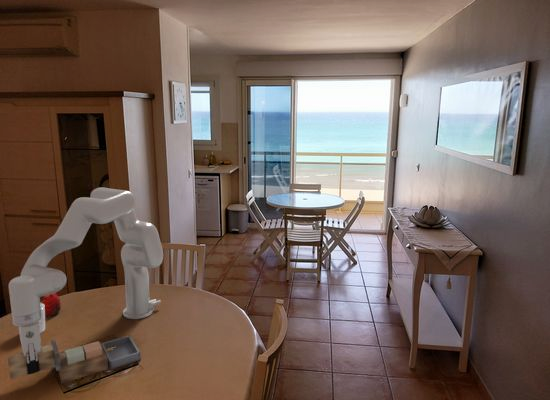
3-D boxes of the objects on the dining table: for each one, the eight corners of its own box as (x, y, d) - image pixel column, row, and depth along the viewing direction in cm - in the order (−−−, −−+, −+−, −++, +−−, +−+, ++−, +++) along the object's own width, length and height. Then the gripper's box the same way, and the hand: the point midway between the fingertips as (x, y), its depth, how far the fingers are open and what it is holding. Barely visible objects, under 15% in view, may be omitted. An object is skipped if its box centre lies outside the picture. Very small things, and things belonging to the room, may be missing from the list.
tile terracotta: (99, 347, 139) (98, 341, 138) (102, 354, 135) (101, 348, 134) (83, 352, 136) (82, 345, 135) (86, 359, 132) (85, 352, 131)
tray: (130, 342, 149) (129, 335, 149) (140, 360, 139) (140, 352, 138) (101, 350, 144) (101, 343, 143) (110, 369, 133) (110, 361, 133)
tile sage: (81, 352, 136) (81, 345, 135) (84, 359, 132) (84, 353, 131) (65, 357, 133) (64, 350, 132) (67, 364, 129) (67, 358, 128)
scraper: (56, 355, 133) (55, 339, 132) (60, 369, 126) (58, 352, 125) (9, 368, 126) (7, 351, 124) (10, 384, 118) (8, 366, 117)
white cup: (36, 338, 151) (33, 313, 148) (18, 335, 152) (15, 311, 150) (51, 327, 158) (49, 304, 156) (34, 324, 160) (32, 301, 157)
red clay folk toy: (54, 308, 173) (51, 276, 170) (65, 312, 170) (62, 279, 167) (37, 315, 167) (34, 282, 164) (48, 319, 164) (45, 285, 161)
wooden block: (100, 352, 143) (100, 342, 142) (108, 368, 134) (107, 358, 133) (56, 365, 135) (55, 355, 134) (61, 383, 126) (60, 372, 125)
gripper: (44, 324, 117) (49, 379, 121) (38, 302, 130) (44, 352, 134) (13, 331, 113) (20, 388, 117) (11, 308, 126) (17, 359, 130)
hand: (33, 368), depth 125 cm, fingers closed on scraper, 3 cm apart
